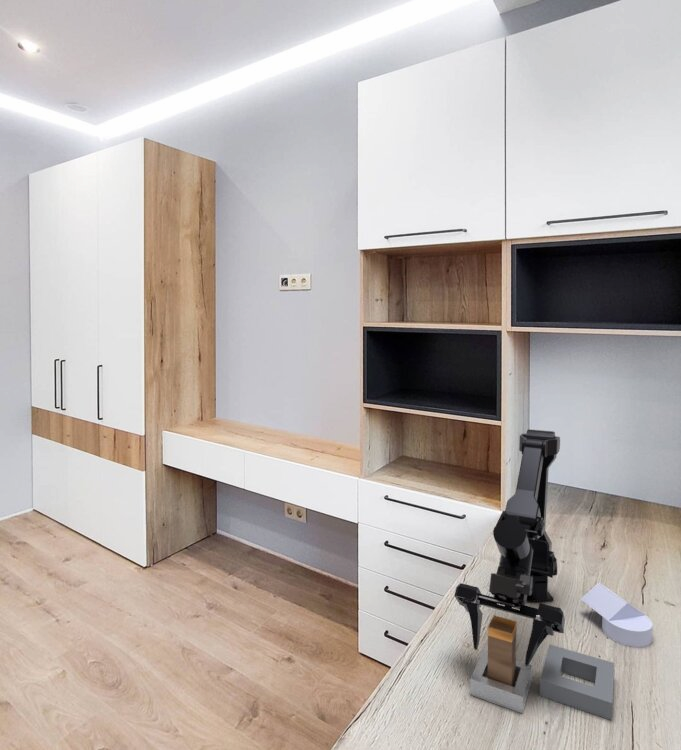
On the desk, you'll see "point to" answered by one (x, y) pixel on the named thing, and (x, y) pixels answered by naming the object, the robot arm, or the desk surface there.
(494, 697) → the frame
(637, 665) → the desk surface
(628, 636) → the wedge on round base
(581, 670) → the socket
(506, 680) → the plug
